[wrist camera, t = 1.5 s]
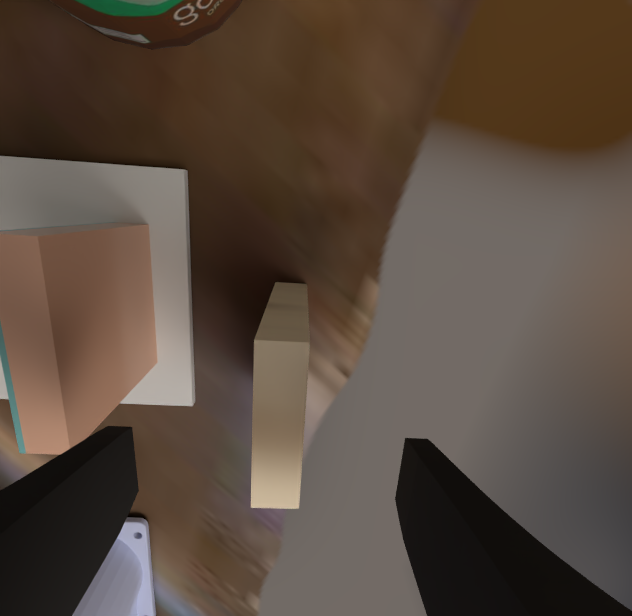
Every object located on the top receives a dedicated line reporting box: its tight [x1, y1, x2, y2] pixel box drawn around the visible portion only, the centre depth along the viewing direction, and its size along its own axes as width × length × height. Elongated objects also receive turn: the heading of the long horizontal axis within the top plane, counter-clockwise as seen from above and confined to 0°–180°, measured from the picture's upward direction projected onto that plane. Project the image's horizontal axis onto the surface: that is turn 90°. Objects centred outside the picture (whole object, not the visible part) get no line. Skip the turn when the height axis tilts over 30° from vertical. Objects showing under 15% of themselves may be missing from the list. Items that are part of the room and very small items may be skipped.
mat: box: [0, 156, 195, 406], centre depth 17 cm, size 12×12×1 cm
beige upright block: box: [251, 282, 310, 509], centre depth 15 cm, size 6×2×8 cm, turn 176°
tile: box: [0, 222, 158, 454], centre depth 14 cm, size 7×2×7 cm, turn 176°
